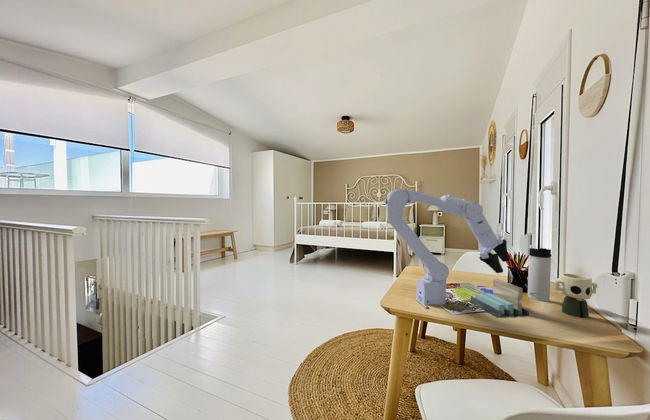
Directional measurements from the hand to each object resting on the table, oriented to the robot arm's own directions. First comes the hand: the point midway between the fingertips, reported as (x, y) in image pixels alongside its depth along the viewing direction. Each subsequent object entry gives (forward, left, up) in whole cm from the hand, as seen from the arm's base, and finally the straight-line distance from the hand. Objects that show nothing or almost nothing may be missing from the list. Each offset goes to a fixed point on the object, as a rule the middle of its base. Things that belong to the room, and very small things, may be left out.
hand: (503, 266), depth 88 cm
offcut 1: (-7, -3, -13) cm, 15 cm away
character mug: (+17, -10, -14) cm, 24 cm away
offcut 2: (-4, -3, -13) cm, 14 cm away
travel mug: (+18, +3, -14) cm, 23 cm away
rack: (-4, -3, -14) cm, 15 cm away
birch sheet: (-1, -3, -13) cm, 13 cm away
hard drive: (+7, +12, -15) cm, 21 cm away
